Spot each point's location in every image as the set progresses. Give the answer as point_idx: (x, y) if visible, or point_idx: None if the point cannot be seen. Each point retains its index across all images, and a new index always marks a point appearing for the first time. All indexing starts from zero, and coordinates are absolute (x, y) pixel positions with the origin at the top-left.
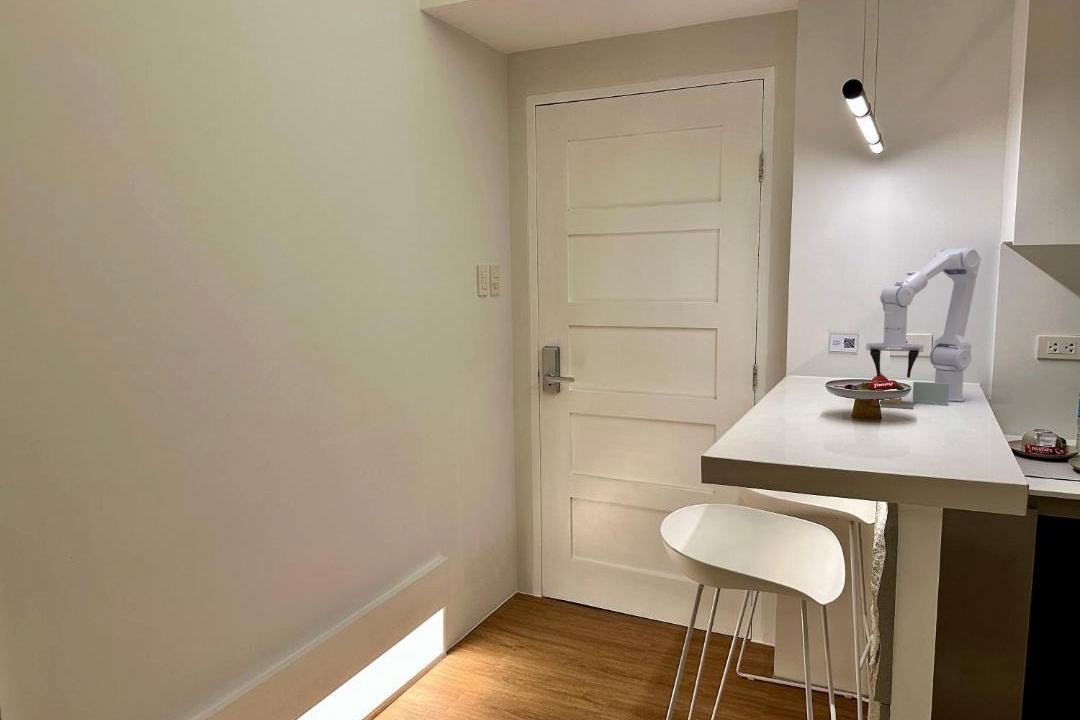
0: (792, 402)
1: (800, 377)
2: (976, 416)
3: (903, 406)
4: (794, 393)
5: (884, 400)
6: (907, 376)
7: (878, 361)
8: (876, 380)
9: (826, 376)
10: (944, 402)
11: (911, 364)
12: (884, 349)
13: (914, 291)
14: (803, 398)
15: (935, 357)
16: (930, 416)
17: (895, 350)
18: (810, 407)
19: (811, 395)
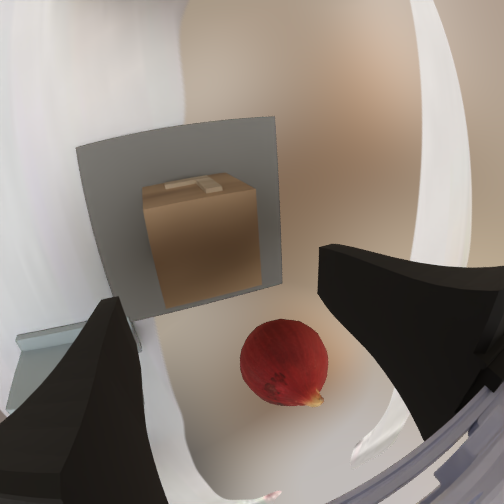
0: (456, 107)
1: (399, 422)
2: None
3: (121, 156)
4: (450, 261)
5: (221, 177)
6: (114, 300)
7: (420, 278)
8: (310, 356)
9: (363, 454)
10: (30, 350)
11: (62, 372)
12: (461, 426)
13: None
14: (444, 192)
15: None
16: (4, 17)
17: (346, 500)
18: (417, 29)
19: (428, 257)
